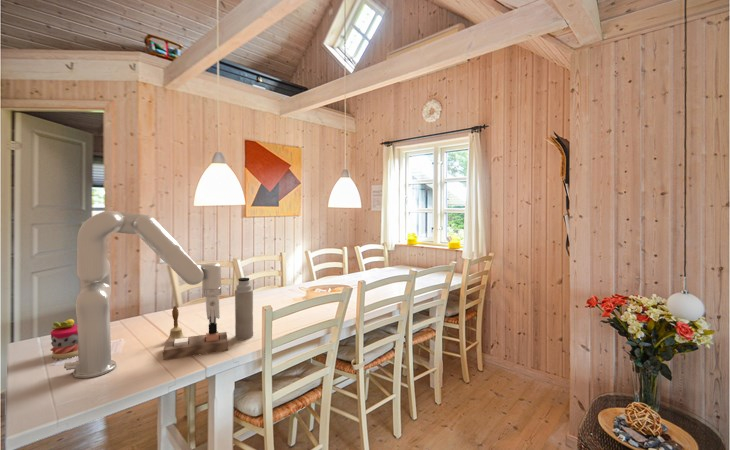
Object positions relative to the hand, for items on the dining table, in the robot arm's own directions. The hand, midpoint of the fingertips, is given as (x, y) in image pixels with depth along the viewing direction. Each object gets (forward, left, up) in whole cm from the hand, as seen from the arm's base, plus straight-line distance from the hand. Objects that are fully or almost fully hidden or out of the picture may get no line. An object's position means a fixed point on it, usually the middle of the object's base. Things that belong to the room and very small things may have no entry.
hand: (212, 332), depth 150 cm
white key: (-12, 0, -4) cm, 13 cm away
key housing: (-6, 0, -6) cm, 9 cm away
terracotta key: (0, 0, -3) cm, 3 cm away
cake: (-54, +15, -7) cm, 57 cm away
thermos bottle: (+14, +8, -7) cm, 17 cm away
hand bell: (-15, +15, -7) cm, 22 cm away
